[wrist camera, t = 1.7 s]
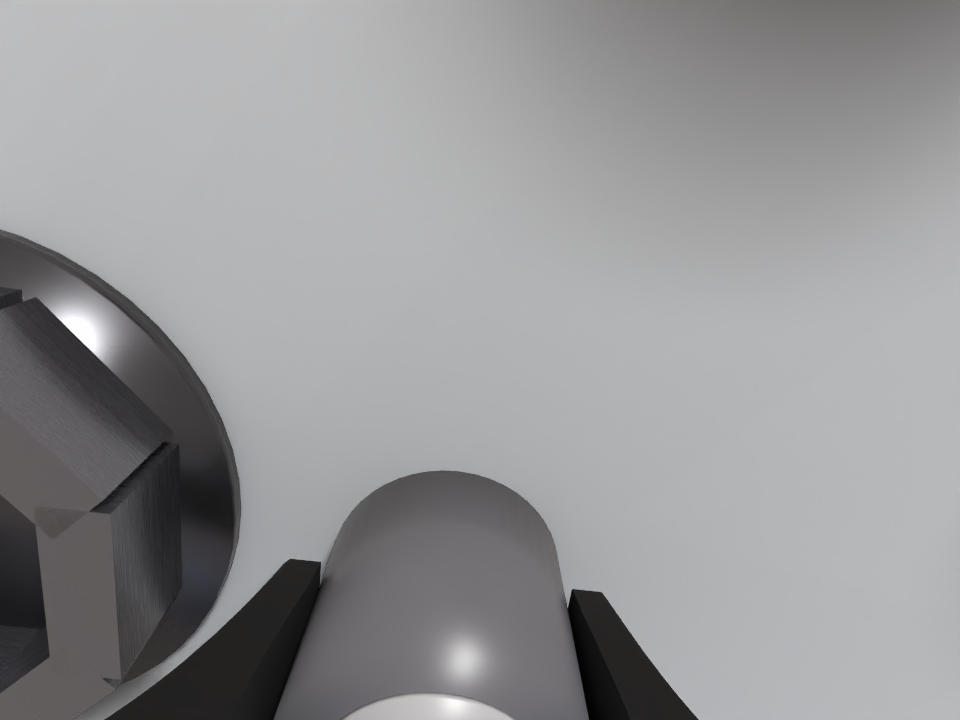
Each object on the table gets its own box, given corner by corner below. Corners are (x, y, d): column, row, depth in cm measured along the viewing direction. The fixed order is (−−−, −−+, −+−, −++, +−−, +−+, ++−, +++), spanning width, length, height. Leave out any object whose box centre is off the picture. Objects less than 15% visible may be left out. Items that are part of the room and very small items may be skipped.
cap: (538, 669, 15) (567, 918, 10) (326, 648, 15) (255, 892, 10) (576, 484, 14) (632, 676, 9) (339, 458, 13) (261, 639, 8)
